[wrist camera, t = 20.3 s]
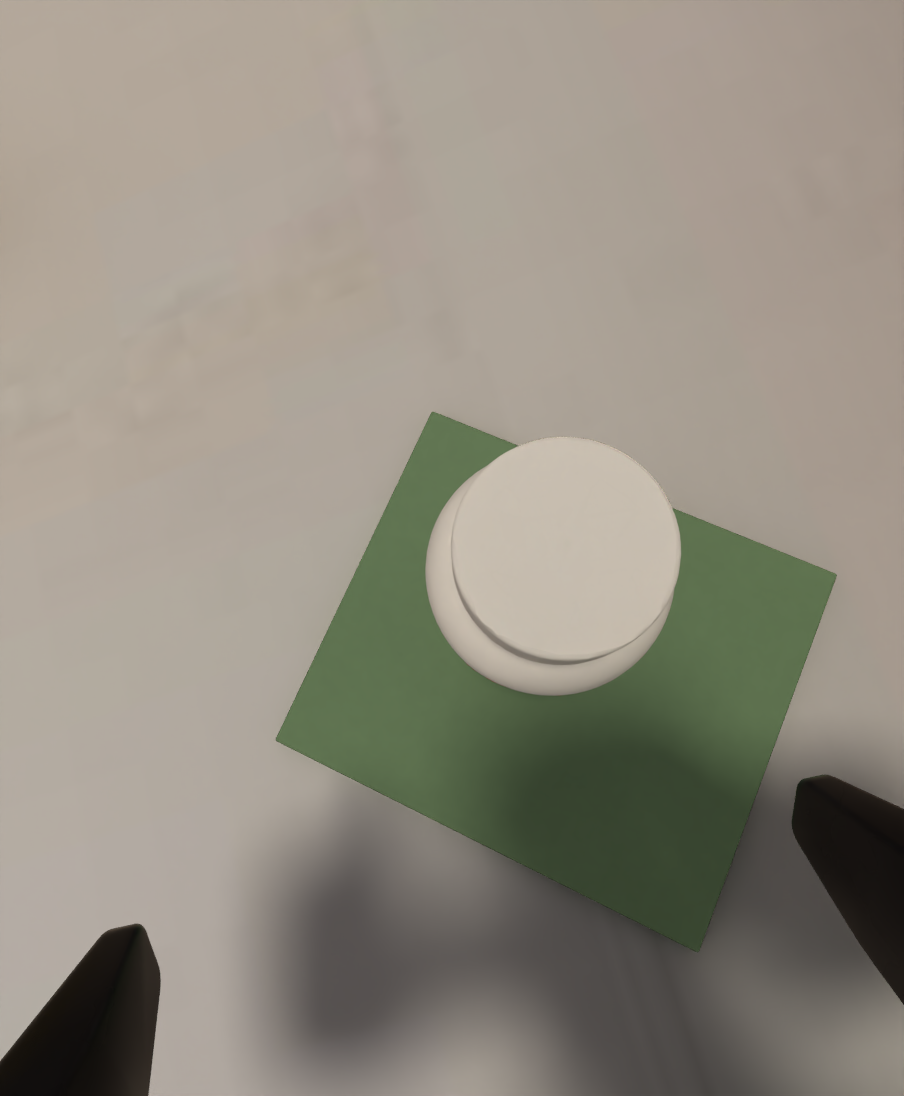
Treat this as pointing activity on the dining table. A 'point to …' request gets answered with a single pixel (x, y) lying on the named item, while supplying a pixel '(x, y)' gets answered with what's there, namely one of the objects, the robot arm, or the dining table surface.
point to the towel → (567, 710)
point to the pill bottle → (554, 566)
